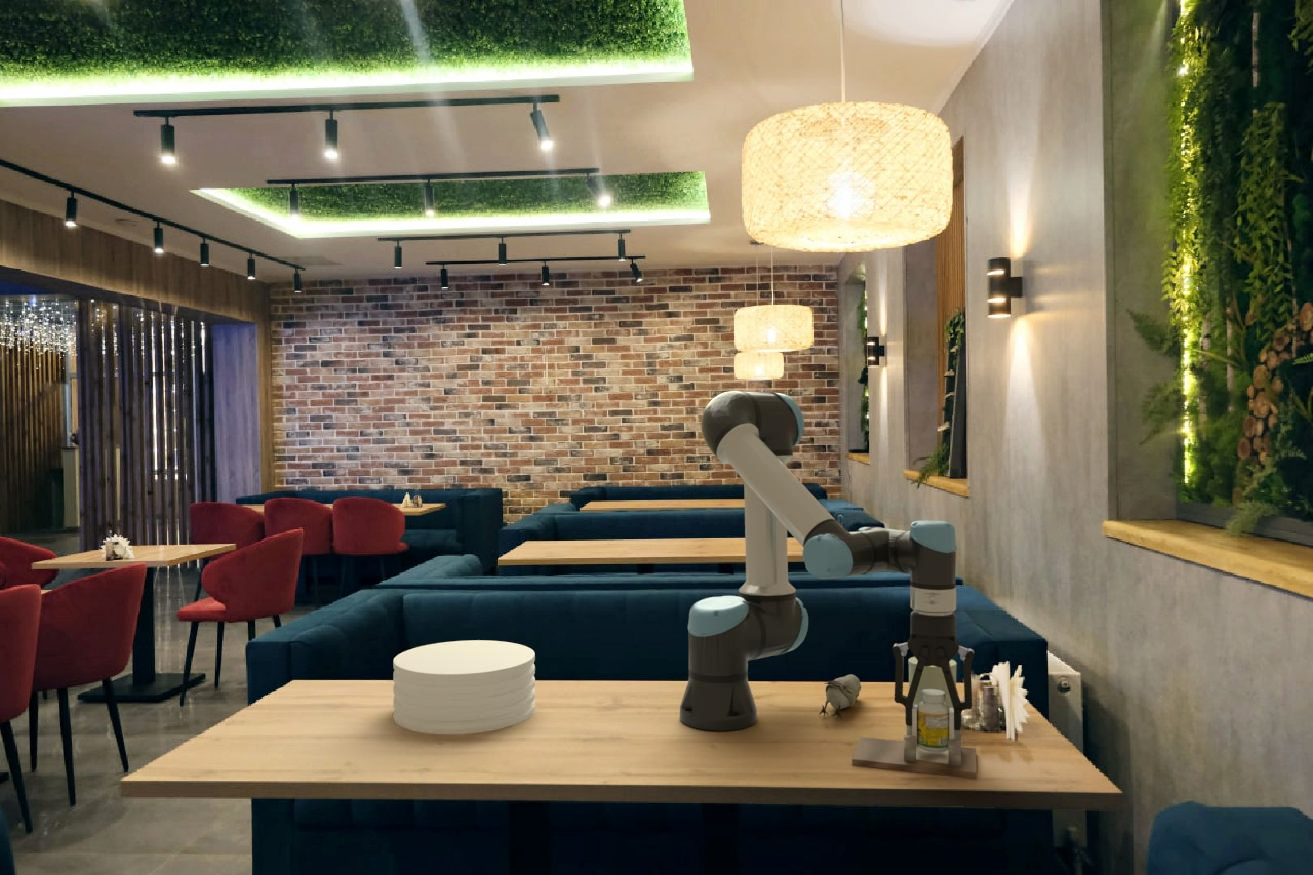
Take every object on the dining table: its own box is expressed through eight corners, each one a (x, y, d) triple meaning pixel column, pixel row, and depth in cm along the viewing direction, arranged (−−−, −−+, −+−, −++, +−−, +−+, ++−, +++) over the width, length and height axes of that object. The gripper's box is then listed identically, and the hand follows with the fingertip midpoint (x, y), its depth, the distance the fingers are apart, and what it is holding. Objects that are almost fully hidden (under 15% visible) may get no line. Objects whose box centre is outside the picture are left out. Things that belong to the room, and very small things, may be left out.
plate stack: (472, 744, 171) (472, 681, 171) (363, 720, 185) (362, 662, 185) (562, 704, 195) (561, 649, 195) (459, 686, 209) (459, 635, 209)
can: (951, 713, 188) (951, 653, 188) (961, 727, 179) (961, 665, 179) (904, 711, 189) (904, 652, 189) (912, 726, 180) (912, 664, 180)
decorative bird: (868, 701, 197) (868, 665, 197) (842, 722, 183) (842, 684, 183) (843, 697, 200) (843, 662, 200) (816, 718, 186) (816, 680, 186)
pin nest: (852, 764, 160) (852, 735, 159) (859, 742, 171) (859, 714, 171) (976, 778, 153) (976, 748, 153) (975, 754, 165) (975, 725, 164)
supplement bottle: (949, 754, 158) (949, 697, 158) (916, 751, 159) (916, 695, 159) (949, 744, 163) (949, 689, 163) (917, 741, 164) (917, 686, 164)
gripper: (876, 612, 160) (876, 747, 160) (990, 618, 154) (990, 759, 155) (880, 604, 167) (880, 734, 167) (989, 610, 161) (989, 744, 162)
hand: (933, 746), depth 161 cm, fingers closed on supplement bottle, 5 cm apart
